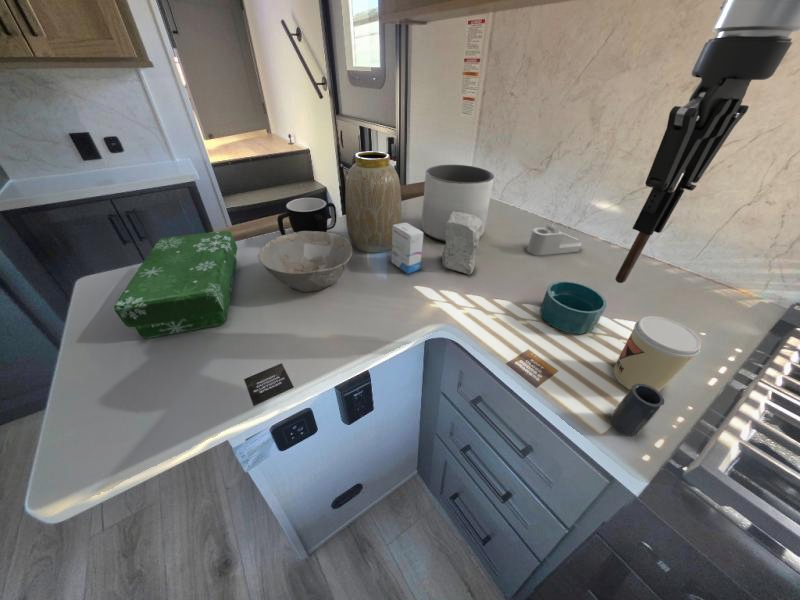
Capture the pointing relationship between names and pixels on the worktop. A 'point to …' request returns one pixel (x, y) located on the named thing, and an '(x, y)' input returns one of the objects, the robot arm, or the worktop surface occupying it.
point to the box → (181, 285)
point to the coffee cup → (655, 352)
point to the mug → (308, 215)
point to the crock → (636, 409)
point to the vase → (372, 201)
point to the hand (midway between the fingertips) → (646, 230)
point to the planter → (454, 196)
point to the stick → (635, 251)
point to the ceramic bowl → (307, 259)
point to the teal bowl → (572, 307)
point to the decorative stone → (461, 242)
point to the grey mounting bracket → (551, 241)
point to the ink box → (407, 247)
